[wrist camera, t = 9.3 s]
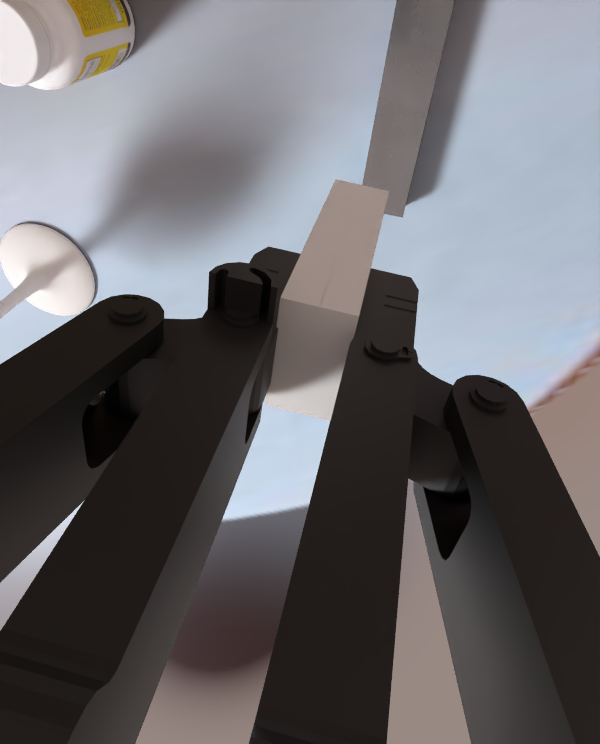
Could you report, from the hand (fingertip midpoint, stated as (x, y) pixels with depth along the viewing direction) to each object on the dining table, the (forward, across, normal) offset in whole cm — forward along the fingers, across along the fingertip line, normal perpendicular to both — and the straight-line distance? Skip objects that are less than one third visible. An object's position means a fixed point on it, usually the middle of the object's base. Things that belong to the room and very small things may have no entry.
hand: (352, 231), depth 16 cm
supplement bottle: (+24, -20, 0) cm, 31 cm away
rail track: (+23, 0, +3) cm, 23 cm away
